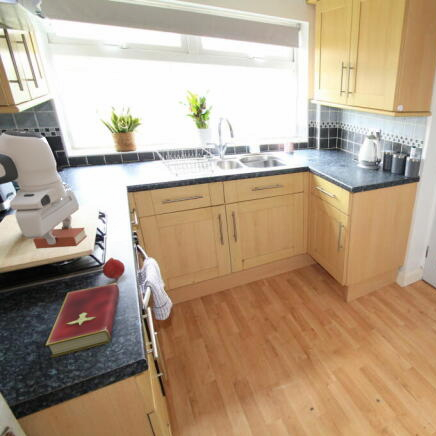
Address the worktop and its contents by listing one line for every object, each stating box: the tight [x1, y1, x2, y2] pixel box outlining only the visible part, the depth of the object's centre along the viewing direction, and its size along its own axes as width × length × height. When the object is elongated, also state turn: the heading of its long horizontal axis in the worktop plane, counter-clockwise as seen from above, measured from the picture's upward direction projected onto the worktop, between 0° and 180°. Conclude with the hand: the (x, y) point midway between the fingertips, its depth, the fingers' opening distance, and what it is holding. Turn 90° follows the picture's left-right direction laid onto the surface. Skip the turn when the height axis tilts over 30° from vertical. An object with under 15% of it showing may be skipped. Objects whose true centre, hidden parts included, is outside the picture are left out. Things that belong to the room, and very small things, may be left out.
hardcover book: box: [45, 282, 120, 359], centre depth 84 cm, size 12×21×4 cm, turn 26°
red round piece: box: [102, 256, 126, 280], centre depth 101 cm, size 6×6×8 cm
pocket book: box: [32, 227, 88, 249], centre depth 92 cm, size 10×6×3 cm, turn 101°
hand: (60, 237), depth 92 cm, fingers closed on pocket book, 6 cm apart
